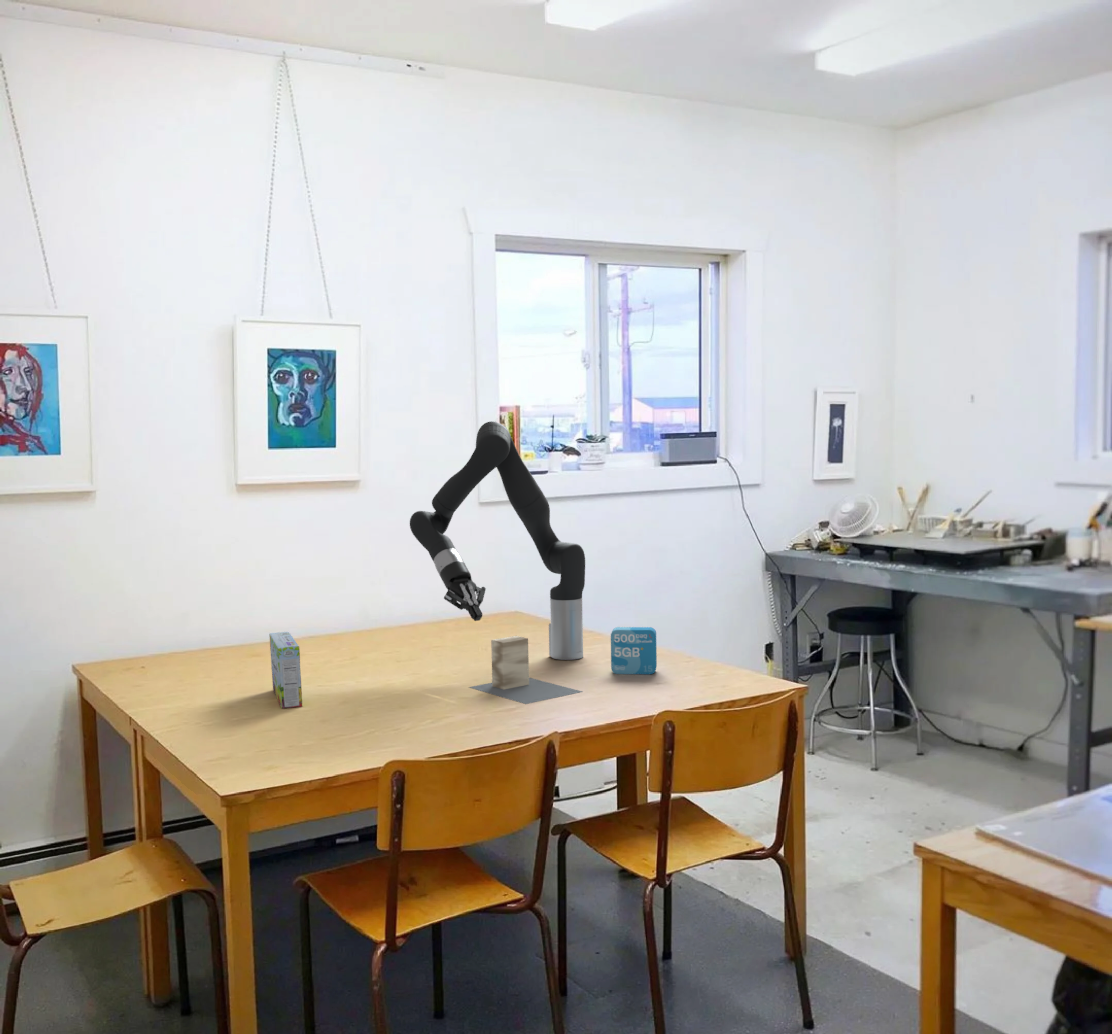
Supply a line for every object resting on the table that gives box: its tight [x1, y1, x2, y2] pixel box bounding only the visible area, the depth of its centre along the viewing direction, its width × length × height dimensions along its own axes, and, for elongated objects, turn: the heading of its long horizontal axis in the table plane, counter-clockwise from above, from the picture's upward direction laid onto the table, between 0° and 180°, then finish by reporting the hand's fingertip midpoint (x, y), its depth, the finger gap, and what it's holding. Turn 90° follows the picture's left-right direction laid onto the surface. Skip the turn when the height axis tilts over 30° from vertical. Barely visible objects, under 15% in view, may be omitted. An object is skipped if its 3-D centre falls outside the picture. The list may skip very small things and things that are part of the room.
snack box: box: [269, 631, 303, 710], centre depth 270 cm, size 21×6×15 cm, turn 21°
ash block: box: [490, 635, 530, 690], centre depth 278 cm, size 5×8×12 cm, turn 129°
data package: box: [610, 626, 658, 675], centre depth 291 cm, size 12×4×12 cm, turn 83°
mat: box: [468, 677, 584, 705], centre depth 273 cm, size 24×18×1 cm
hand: (478, 618), depth 287 cm, fingers closed
